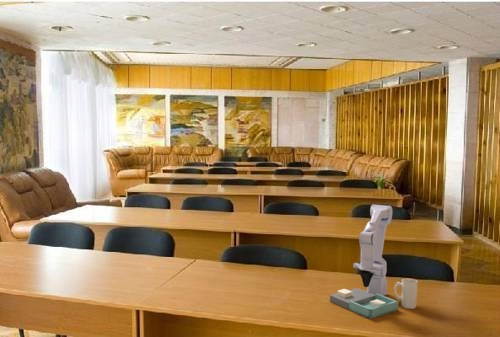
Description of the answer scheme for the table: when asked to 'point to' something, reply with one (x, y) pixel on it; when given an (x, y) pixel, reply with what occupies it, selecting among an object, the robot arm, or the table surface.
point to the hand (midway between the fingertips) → (366, 286)
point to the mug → (407, 292)
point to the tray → (374, 311)
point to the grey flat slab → (353, 298)
